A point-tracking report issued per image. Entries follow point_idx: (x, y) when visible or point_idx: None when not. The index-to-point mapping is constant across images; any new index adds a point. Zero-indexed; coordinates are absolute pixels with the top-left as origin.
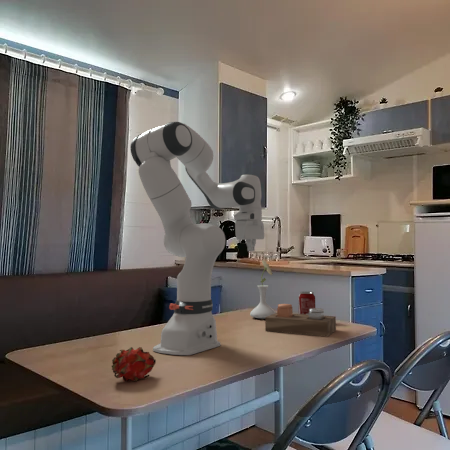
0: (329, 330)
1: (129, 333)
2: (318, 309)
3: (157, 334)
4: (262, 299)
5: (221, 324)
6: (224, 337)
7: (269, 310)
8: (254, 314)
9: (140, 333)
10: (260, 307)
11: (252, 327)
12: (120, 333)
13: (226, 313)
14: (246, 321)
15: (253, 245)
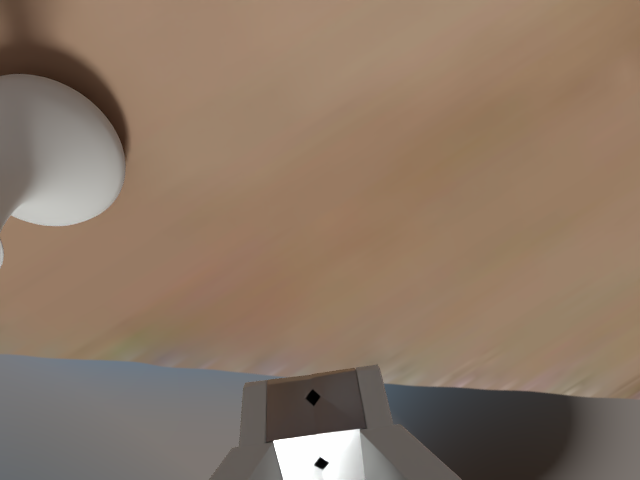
0: None
1: (616, 364)
2: None
3: (609, 292)
4: (18, 189)
5: (333, 221)
6: (599, 39)
7: (37, 109)
8: (121, 171)
9: (608, 341)
10: (66, 168)
11: (322, 51)
12: (623, 382)
13: (88, 350)
14: (198, 168)
15: (263, 475)
